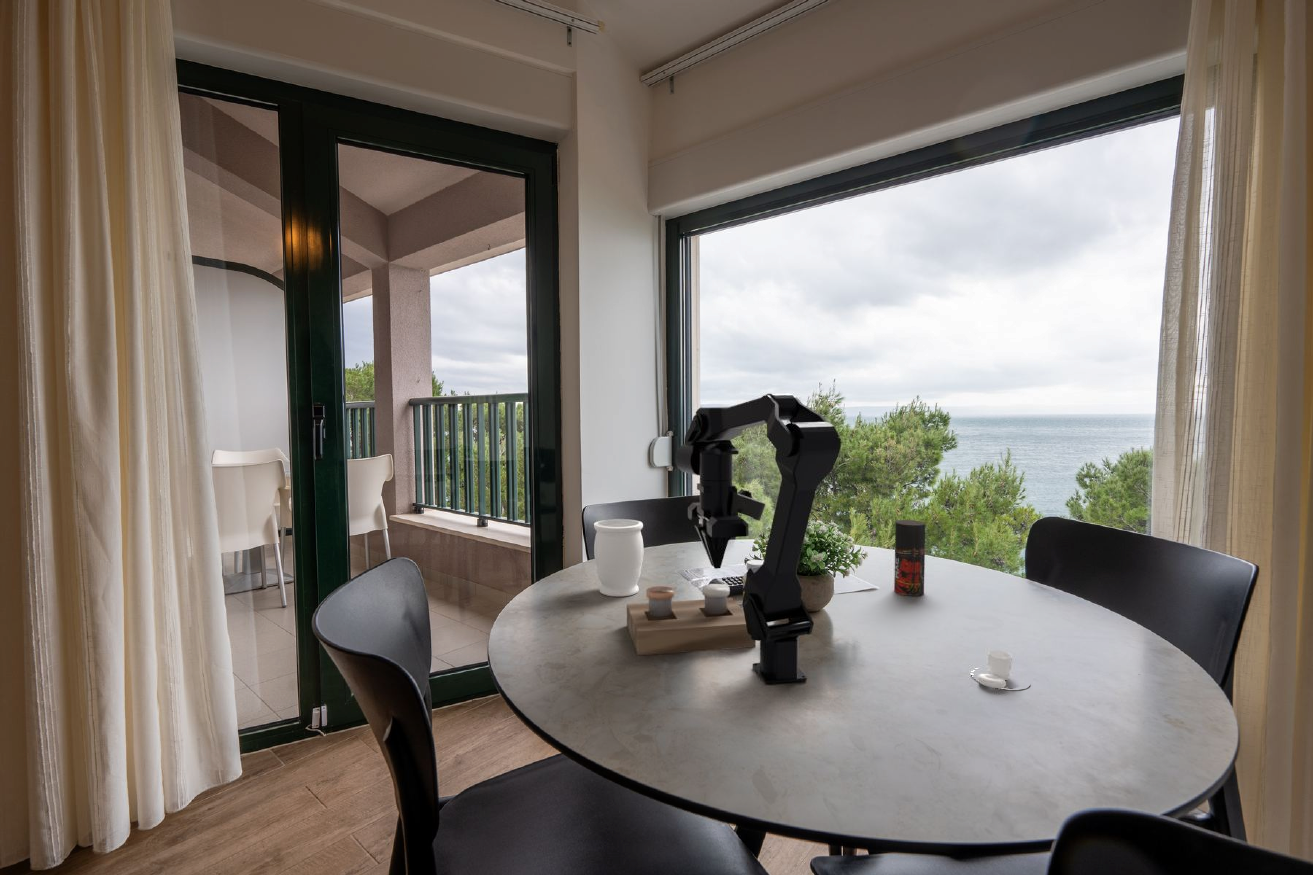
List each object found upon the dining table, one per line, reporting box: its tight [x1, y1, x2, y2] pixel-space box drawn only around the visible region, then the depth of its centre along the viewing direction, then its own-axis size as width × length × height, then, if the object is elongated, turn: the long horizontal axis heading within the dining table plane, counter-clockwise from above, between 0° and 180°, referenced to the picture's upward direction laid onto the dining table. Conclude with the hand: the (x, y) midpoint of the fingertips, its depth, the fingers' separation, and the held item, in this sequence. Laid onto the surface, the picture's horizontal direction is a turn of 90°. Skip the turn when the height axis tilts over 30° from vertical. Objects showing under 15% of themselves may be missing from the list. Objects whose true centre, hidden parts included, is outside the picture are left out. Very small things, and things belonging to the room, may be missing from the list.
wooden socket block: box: [626, 597, 757, 656], centre depth 114 cm, size 14×20×4 cm
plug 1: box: [645, 585, 675, 616], centre depth 113 cm, size 5×5×4 cm
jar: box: [593, 518, 644, 598], centre depth 139 cm, size 11×10×15 cm
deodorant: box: [893, 519, 926, 597], centre depth 138 cm, size 6×6×15 cm
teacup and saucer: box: [969, 650, 1013, 690], centre depth 96 cm, size 9×8×4 cm
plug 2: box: [701, 583, 731, 614], centre depth 114 cm, size 5×5×4 cm
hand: (716, 567), depth 114 cm, fingers closed
